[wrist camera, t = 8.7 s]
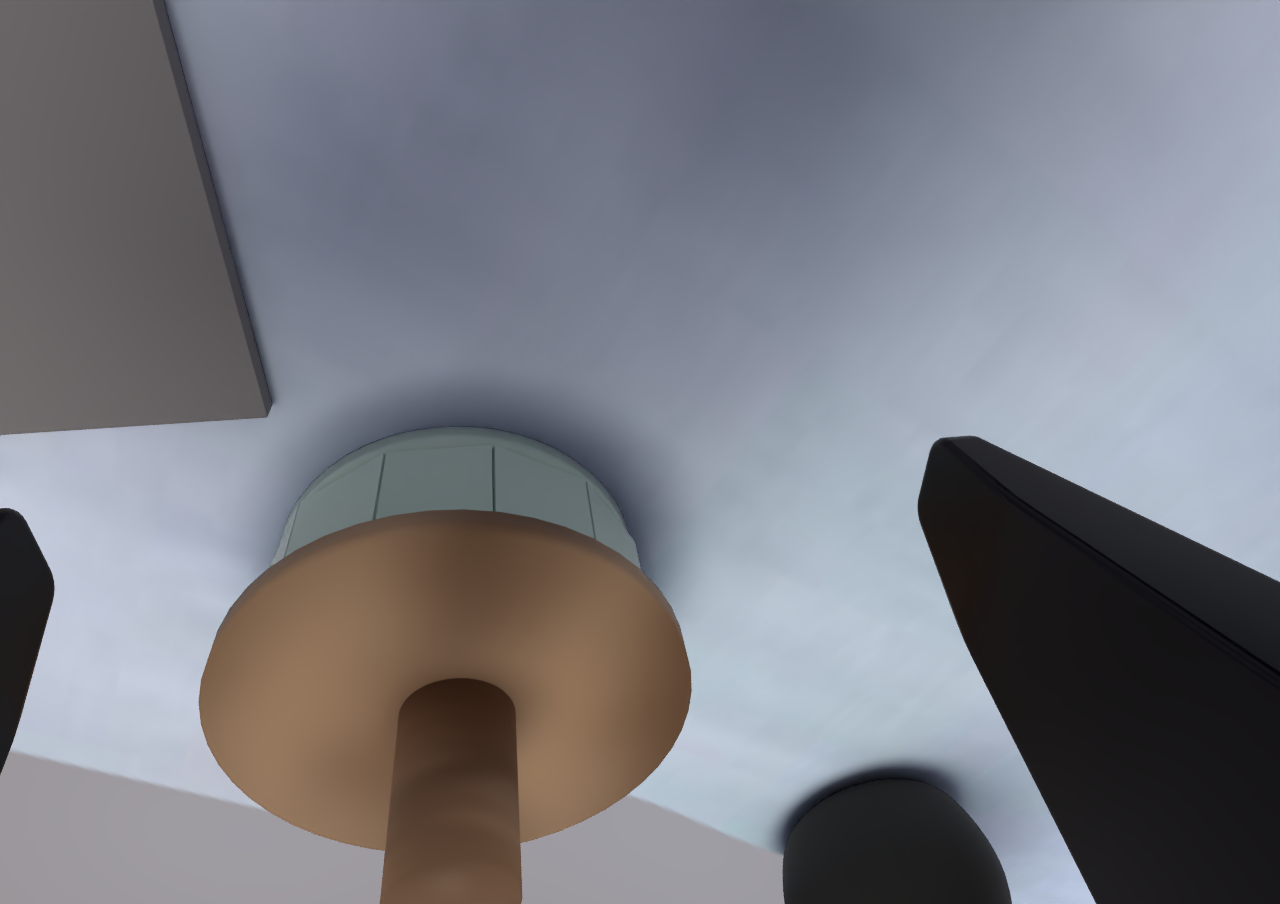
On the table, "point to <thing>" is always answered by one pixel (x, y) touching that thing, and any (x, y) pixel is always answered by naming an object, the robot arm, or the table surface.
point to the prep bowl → (456, 486)
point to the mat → (111, 231)
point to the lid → (445, 692)
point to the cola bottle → (891, 850)
